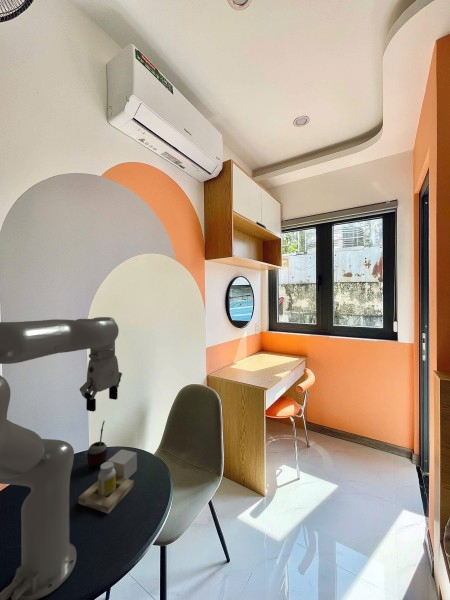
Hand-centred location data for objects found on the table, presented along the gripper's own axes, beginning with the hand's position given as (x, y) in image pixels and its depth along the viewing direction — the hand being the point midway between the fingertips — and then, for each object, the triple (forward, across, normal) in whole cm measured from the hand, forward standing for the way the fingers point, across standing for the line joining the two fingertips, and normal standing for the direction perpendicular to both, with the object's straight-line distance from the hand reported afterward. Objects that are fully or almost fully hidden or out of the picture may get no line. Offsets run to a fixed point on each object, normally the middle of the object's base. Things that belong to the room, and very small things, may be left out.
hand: (102, 404), depth 86 cm
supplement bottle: (+30, 0, -2) cm, 30 cm away
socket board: (+30, 0, -2) cm, 30 cm away
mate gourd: (+31, +11, +13) cm, 35 cm away
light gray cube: (+30, +10, 0) cm, 32 cm away
